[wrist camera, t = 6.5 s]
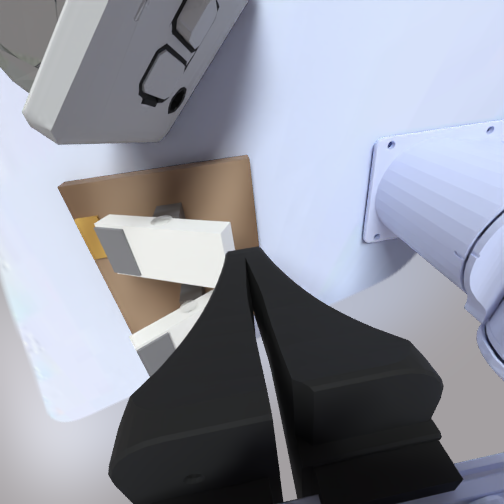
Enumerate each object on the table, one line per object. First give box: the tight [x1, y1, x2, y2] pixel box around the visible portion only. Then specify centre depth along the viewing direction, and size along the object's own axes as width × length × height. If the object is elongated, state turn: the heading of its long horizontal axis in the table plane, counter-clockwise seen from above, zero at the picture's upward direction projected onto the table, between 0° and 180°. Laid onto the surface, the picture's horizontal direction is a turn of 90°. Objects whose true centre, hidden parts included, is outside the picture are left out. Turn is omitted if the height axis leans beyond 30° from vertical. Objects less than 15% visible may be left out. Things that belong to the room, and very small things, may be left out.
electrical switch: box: [0, 0, 249, 145], centre depth 10 cm, size 9×5×9 cm, turn 141°
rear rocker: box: [129, 289, 214, 377], centre depth 20 cm, size 8×4×2 cm
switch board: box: [58, 155, 259, 334], centre depth 20 cm, size 12×13×3 cm
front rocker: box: [94, 214, 235, 288], centre depth 16 cm, size 8×4×2 cm, turn 97°
